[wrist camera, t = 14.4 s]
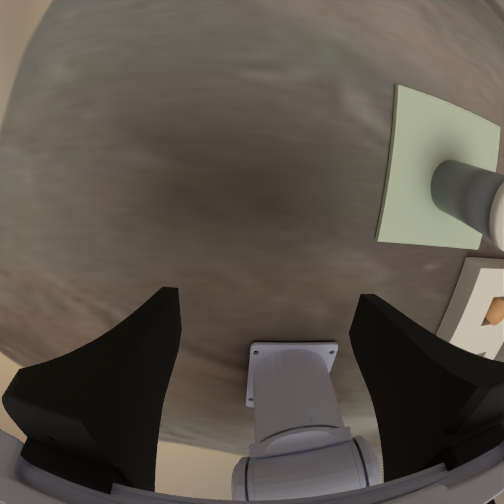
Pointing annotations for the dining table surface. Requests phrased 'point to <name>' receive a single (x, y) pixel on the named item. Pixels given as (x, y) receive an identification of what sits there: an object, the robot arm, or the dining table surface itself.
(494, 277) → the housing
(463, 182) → the cylinder
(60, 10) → the dining table surface
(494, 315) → the plunger
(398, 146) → the mat
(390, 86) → the dining table surface
